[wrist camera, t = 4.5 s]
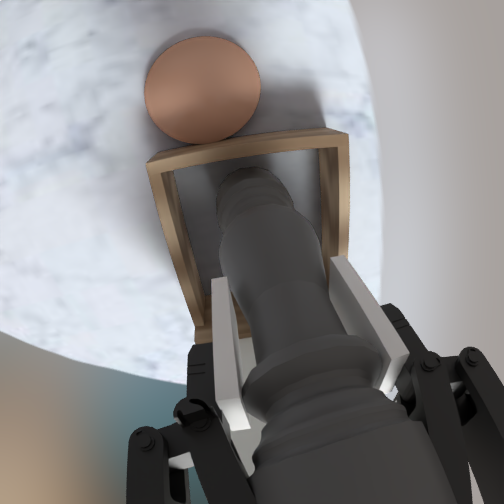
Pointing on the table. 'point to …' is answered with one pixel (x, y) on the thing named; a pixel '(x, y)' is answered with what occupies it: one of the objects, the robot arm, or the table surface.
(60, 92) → the table surface
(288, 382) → the candle holder
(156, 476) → the robot arm
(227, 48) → the saucer
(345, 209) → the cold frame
